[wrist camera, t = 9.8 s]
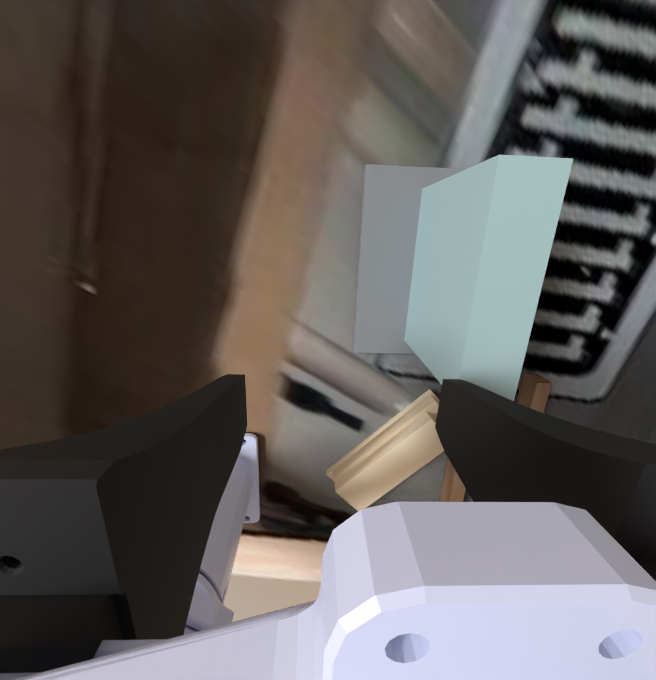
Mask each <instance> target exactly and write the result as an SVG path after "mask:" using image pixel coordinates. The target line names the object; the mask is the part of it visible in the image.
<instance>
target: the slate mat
mask: <svg viewBox="0 0 656 680" xmlns="http://www.w3.org/2000/svg"><path fill="white" fill-rule="evenodd" d="M464 170H466V169H451V168H431V167H412V166H392V165H372V164H366V166H365V173H364V188H363V203H362V218H361V233H360V248H359V263H358V278H357V293H356V308H355V323H354V338H353V352H357V353H398V354H415V353H414V351H413V350H412V349H411V348H410V347H409V345H408V344H407V343H406V342H405V341H404V339H405V330H406V322H407V314H408V305H409V297H410V288H411V280H412V271H413V263H414V254H415V246H416V237H417V229H418V220H419V212H420V204H421V195H422V188H425V187H427V186H429V185H432V184H434V183H436V182H438V181H441V180H443V179H445V178H448V177H450V176H452V175H454V174H457V173H459V172H461V171H464Z"/></svg>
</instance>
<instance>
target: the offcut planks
mask: <svg viewBox="0 0 656 680" xmlns="http://www.w3.org/2000/svg"><path fill="white" fill-rule="evenodd" d="M438 406H439V398H438V397H437V396H436V395H435V394H434V393H433V392H432V391H431V390H430V389H429V390H428V391H427V392H425V393H424V394H423V395H421V396H420V397H419V398H418V399H416V400H415V401H414V402H412V403H411V404H410V405H409V406H407V407H406V408H405V409H403V410H402V411H401V412H400V413H398V414H397V415H396V416H394V417H393V418H392V419H391V420H389V421H388V422H387V423H386V424H384V425H383V426H382V427H380V428H379V429H378V430H377V431H375V432H374V433H373V434H371V435H370V436H369V437H368V438H366V439H365V440H364V441H362V442H361V443H360V444H359V445H357V446H356V447H355V448H354V449H352V450H351V451H350V452H348V453H347V454H346V455H345V456H343V457H342V458H341V459H339V460H338V461H337V462H336V463H334V464H333V465H332V466H330V467H329V468H328V469H327V470H326V475H327V476H328V477H329V478H330V479H331V480H333V481H334V482H335V492H336V493H337V494H338V495H340V496H341V497H342V498H343V499H344V500H345V501H347V502H348V503H349V504H350V505H351V506H352V507H354V508H355V509H356V510H357V511H360V510H361V509H363V508H367V507H368V506H369V505H371V504H372V503H373V502H375V501H376V500H377V499H379V498H380V497H382V496H383V495H384V494H386V493H387V492H388V491H390V490H391V489H393V488H394V487H395V486H397V485H398V484H399V483H401V482H402V481H404V480H405V479H406V478H408V477H409V476H410V475H412V474H413V473H415V472H416V471H417V470H419V469H420V468H421V467H423V466H424V465H426V464H427V463H428V462H430V461H431V460H432V459H434V458H435V457H436V456H438V455H439V454H441V453H442V452H443V451H444V449H443V447H442V444H441V442H440V439H439V437H438V434H437V431H436V429H435V424H436V418H437V412H438Z"/></svg>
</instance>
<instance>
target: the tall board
mask: <svg viewBox="0 0 656 680" xmlns="http://www.w3.org/2000/svg"><path fill="white" fill-rule="evenodd" d="M572 162H573V159H569V158H551V157H532V156H513V155H498V156H495V157H493V158H491V159H489V160H486V161H484V162H482V163H479V164H477V165H475V166H473V167H470V168H468V169H466V170H464V171H461V172H459V173H457V174H454V175H452V176H450V177H448V178H445V179H443V180H441V181H438V182H436V183H434V184H432V185H429V186H427V187H425V188H422V195H421V204H420V212H419V220H418V229H417V237H416V246H415V254H414V263H413V271H412V280H411V288H410V297H409V305H408V314H407V322H406V330H405V339H404V341H405V342H406V343H407V344H408V345H409V347H410V348H411V349H412V350H413V351H414V353H415V354H416V355H417V356H418V357H419V358H420V360H421V361H422V362H423V363H424V364H425V366H426V367H427V368H428V369H429V370H430V372H431V373H432V374H433V375H434V376H435V378H436V379H437V380H438V381H439V382H440V384H441V385H442V382H443V379H461V380H464V381H467V382H470V383H473V384H475V385H478V386H480V387H482V388H485V389H487V390H489V391H491V392H494V393H496V394H498V395H500V396H503V397H505V398H507V399H510V400H512V401H514V399H515V395H516V391H517V386H518V382H519V378H520V374H521V370H522V366H523V362H524V358H525V354H526V350H527V346H528V342H529V337H530V333H531V329H532V325H533V321H534V317H535V313H536V309H537V305H538V301H539V297H540V293H541V288H542V284H543V280H544V276H545V272H546V268H547V264H548V260H549V256H550V252H551V248H552V243H553V239H554V235H555V231H556V227H557V223H558V219H559V215H560V211H561V207H562V203H563V199H564V194H565V190H566V186H567V182H568V178H569V174H570V170H571V166H572Z"/></svg>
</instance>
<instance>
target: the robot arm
mask: <svg viewBox="0 0 656 680" xmlns="http://www.w3.org/2000/svg"><path fill="white" fill-rule="evenodd" d="M246 427H247V411H246V389H245V375H233V374H227V375H225V376H222V377H220V378H218V379H216V380H215V381H213V382H211V383H209V384H207V385H206V386H204V387H202V388H200V389H198V390H197V391H195V392H193V393H191V394H189V395H187V396H185V397H183V398H181V399H179V400H177V401H175V402H173V403H171V404H169V405H167V406H165V407H163V408H160V409H158V410H156V411H153V412H151V413H148V414H145V415H143V416H140V417H138V418H135V419H132V420H129V421H126V422H122V423H119V424H116V425H113V426H110V427H106V428H103V429H100V430H96V431H92V432H88V433H84V434H80V435H76V436H72V437H67V438H63V439H58V440H54V441H49V442H44V443H38V444H32V445H26V446H20V447H14V448H8V449H2V450H0V680H656V444H651V443H646V442H642V441H637V440H633V439H628V438H624V437H620V436H616V435H612V434H608V433H605V432H601V431H597V430H593V429H590V428H586V427H583V426H580V425H576V424H573V423H570V422H567V421H564V420H561V419H558V418H555V417H552V416H549V415H547V414H544V413H541V412H539V411H536V410H534V409H531V408H529V407H526V406H524V405H521V404H519V403H517V402H514V401H512V400H510V399H507V398H505V397H503V396H500V395H498V394H496V393H494V392H491V391H489V390H487V389H485V388H482V387H480V386H478V385H475V384H473V383H470V382H467V381H464V380H461V379H443V382H442V388H441V394H440V400H439V406H438V412H437V418H436V424H435V429H436V431H437V434H438V437H439V439H440V442H441V444H442V447H443V449H444V451H445V453H446V455H447V457H448V459H449V460H450V462H451V464H452V466H453V467H454V469H455V471H456V473H457V474H458V476H459V478H460V479H461V481H462V483H463V484H464V486H465V488H466V490H467V491H468V493H469V495H470V496H471V498H472V500H473V502H392V503H387V504H383V505H378V506H373V507H368V508H363V509H361V510H360V511H358V512H357V513H355V514H354V515H353V516H351V517H350V518H349V519H347V520H346V521H345V522H343V523H342V524H341V525H339V526H338V527H336V528H335V529H334V530H333V531H332V534H331V536H330V539H329V541H328V544H327V546H326V549H325V551H324V554H323V556H322V573H321V587H320V592H319V596H318V598H317V600H315V601H311V602H307V603H304V604H300V605H296V606H292V607H289V608H284V609H281V610H277V611H274V612H269V613H265V614H262V615H258V616H254V617H250V618H246V619H243V620H239V621H235V622H232V619H233V615H234V613H233V611H231V610H230V609H228V608H226V607H225V606H224V605H223V603H224V600H225V596H226V592H227V588H228V584H229V580H230V576H231V572H232V568H233V564H234V560H235V556H236V552H237V548H238V544H239V540H240V536H241V532H242V528H243V524H244V523H256V522H258V521H259V519H260V493H259V464H258V439H257V436H256V435H254V434H251V433H245V432H246ZM244 439H245V440H246V442H243V440H244ZM246 516H248V517H246Z"/></svg>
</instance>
